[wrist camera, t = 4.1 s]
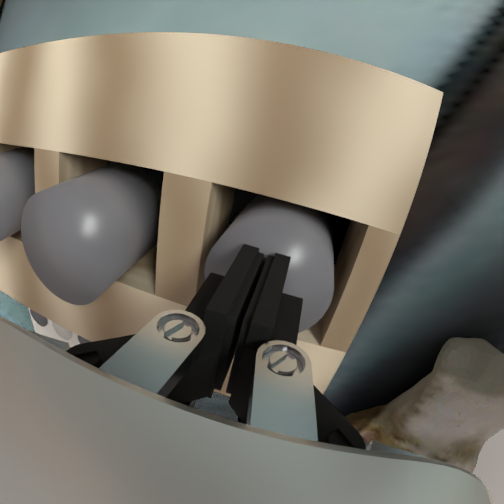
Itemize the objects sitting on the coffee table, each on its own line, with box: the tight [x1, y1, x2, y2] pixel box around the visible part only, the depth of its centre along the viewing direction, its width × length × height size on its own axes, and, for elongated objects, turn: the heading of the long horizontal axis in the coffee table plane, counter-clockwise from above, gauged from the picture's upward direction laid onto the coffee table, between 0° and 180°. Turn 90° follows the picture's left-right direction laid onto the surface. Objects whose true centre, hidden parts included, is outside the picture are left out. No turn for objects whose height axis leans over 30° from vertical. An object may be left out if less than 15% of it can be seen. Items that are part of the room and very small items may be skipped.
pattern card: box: [29, 308, 91, 347], centre depth 23 cm, size 9×6×1 cm, turn 79°
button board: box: [0, 32, 443, 397], centre depth 15 cm, size 23×16×4 cm
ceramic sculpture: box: [345, 337, 504, 473], centre depth 15 cm, size 11×9×15 cm
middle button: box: [21, 163, 162, 305], centre depth 12 cm, size 5×5×5 cm
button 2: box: [204, 194, 334, 333], centre depth 13 cm, size 5×5×5 cm
